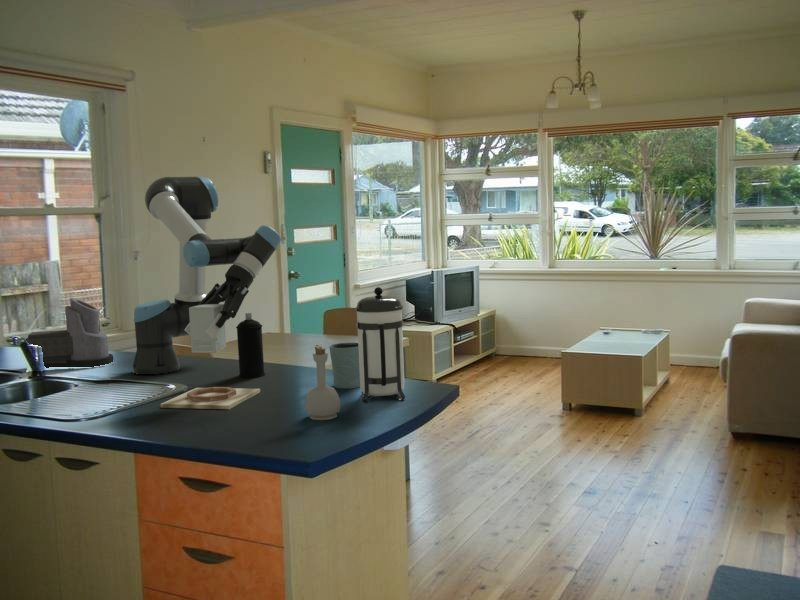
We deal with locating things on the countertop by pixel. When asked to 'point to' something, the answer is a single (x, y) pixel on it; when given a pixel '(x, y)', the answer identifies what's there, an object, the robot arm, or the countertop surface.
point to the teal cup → (345, 365)
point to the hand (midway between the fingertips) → (198, 334)
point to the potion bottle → (322, 392)
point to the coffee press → (380, 346)
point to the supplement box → (205, 329)
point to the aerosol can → (250, 348)
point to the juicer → (75, 339)
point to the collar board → (211, 398)
